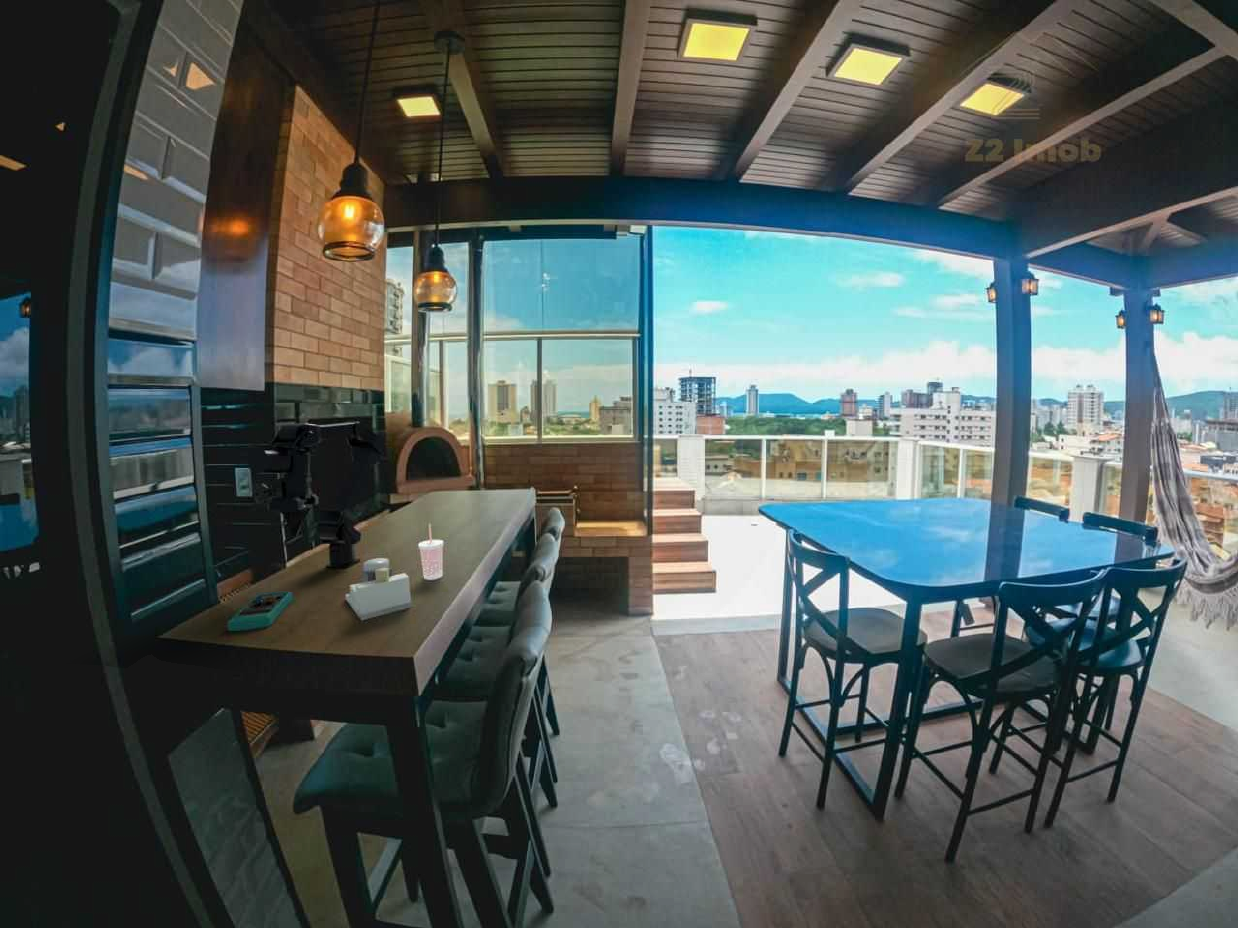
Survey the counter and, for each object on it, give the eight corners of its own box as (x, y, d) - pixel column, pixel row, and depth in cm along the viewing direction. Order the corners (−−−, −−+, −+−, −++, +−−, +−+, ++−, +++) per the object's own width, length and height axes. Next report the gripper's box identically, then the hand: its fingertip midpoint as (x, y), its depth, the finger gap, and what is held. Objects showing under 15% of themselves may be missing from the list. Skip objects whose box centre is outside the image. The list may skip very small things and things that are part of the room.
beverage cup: (434, 570, 132) (431, 519, 130) (450, 574, 129) (447, 522, 127) (415, 578, 127) (411, 525, 125) (431, 582, 124) (427, 528, 122)
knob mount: (346, 599, 114) (342, 560, 112) (392, 588, 120) (389, 551, 119) (361, 620, 103) (357, 577, 101) (411, 607, 109) (408, 566, 108)
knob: (364, 598, 110) (361, 561, 109) (387, 592, 114) (385, 556, 112) (370, 605, 107) (366, 567, 105) (394, 599, 110) (391, 562, 109)
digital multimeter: (294, 600, 114) (293, 588, 114) (269, 628, 100) (268, 615, 100) (257, 605, 112) (256, 592, 112) (227, 634, 98) (225, 620, 98)
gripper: (271, 472, 129) (269, 532, 129) (241, 473, 111) (239, 542, 111) (319, 473, 133) (318, 531, 132) (298, 474, 115) (296, 541, 115)
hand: (293, 536), depth 123 cm, fingers closed
